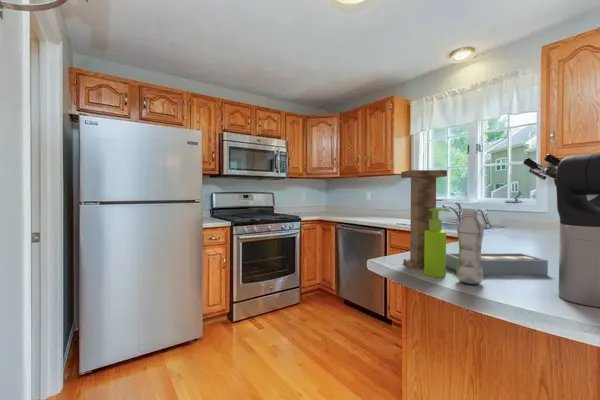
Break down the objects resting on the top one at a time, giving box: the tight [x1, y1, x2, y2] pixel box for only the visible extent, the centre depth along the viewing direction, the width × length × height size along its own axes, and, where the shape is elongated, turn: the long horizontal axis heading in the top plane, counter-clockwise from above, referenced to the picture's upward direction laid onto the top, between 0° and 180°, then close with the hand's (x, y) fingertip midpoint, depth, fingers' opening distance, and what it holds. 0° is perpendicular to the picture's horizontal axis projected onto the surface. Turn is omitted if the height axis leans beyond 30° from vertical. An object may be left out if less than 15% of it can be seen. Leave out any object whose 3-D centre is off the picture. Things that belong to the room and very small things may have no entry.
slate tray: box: [446, 252, 549, 276], centre depth 94 cm, size 26×11×4 cm, turn 90°
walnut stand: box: [400, 169, 448, 270], centre depth 99 cm, size 12×8×32 cm, turn 90°
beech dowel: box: [481, 256, 535, 260], centre depth 93 cm, size 20×4×4 cm, turn 90°
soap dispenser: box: [423, 207, 451, 278], centre depth 89 cm, size 6×7×20 cm
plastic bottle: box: [455, 209, 485, 285], centre depth 80 cm, size 6×7×20 cm
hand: (535, 158), depth 95 cm, fingers open, 8 cm apart
